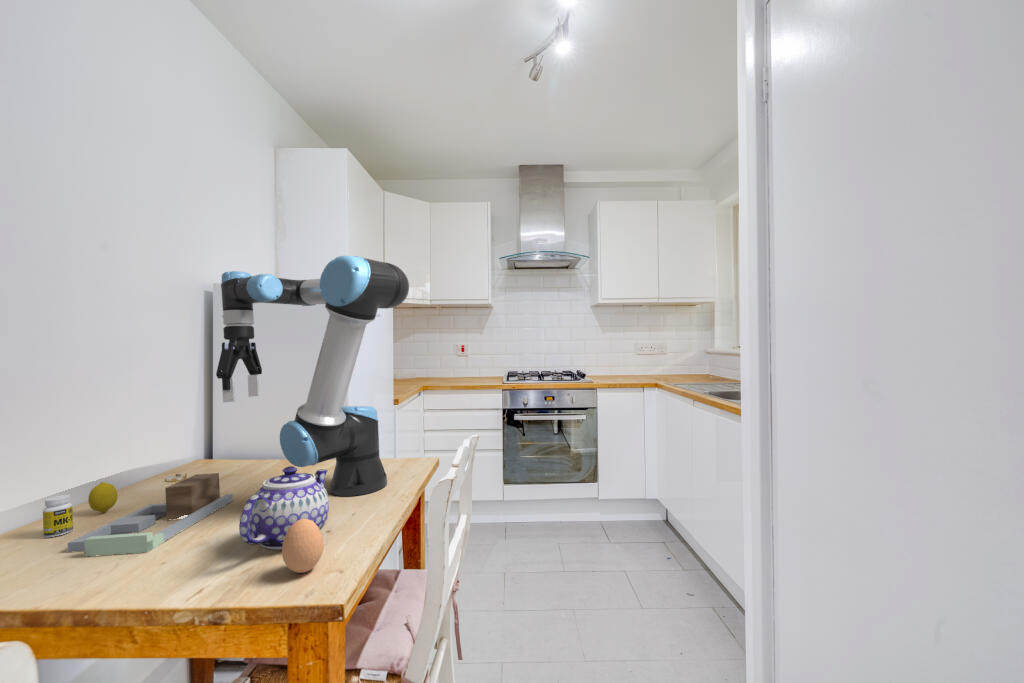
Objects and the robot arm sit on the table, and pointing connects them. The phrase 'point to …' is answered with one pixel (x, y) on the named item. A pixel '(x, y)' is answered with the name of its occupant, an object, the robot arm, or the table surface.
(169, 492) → the walnut block
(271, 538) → the teapot
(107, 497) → the lemon
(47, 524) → the supplement bottle
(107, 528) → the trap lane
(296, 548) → the egg
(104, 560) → the table surface
